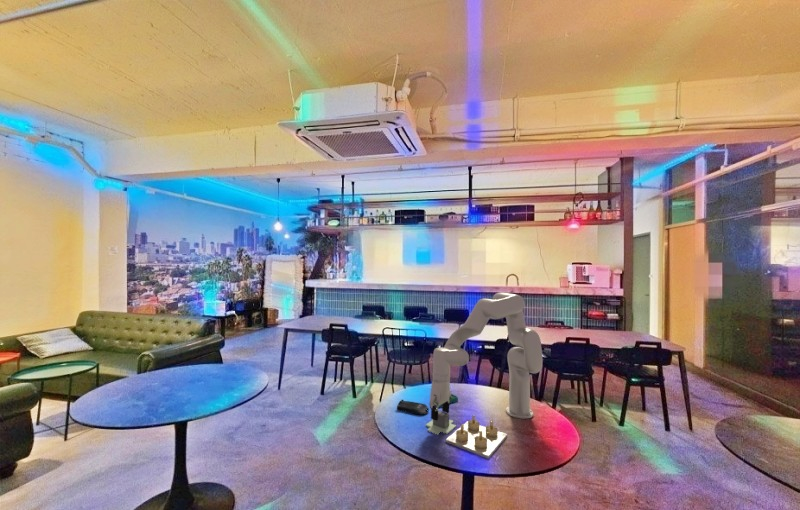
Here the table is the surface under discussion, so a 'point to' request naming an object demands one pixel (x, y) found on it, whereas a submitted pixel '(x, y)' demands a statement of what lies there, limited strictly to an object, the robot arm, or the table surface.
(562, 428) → the table surface
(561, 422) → the table surface
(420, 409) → the electronic device
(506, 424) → the table surface
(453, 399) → the digital multimeter
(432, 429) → the board
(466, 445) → the chassis
